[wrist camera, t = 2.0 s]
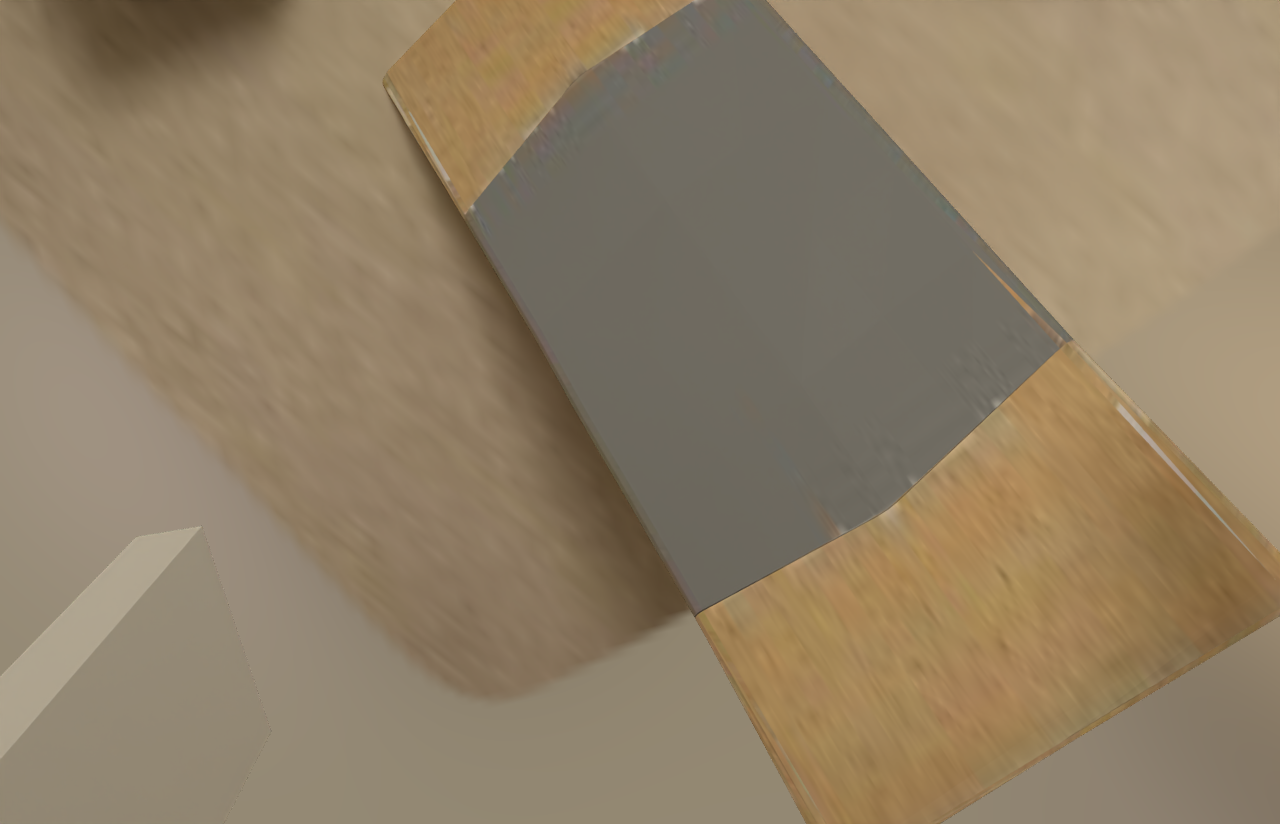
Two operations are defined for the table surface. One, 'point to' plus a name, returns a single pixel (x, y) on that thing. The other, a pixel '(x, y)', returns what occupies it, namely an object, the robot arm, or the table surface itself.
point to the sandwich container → (827, 400)
